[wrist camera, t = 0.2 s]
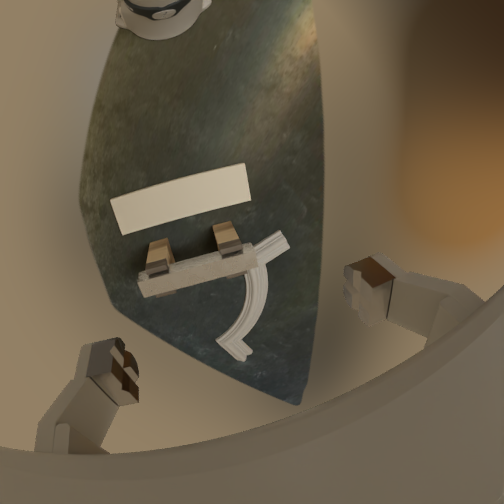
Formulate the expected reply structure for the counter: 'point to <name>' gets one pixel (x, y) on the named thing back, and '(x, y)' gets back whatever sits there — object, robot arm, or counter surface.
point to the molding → (253, 296)
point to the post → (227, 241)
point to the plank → (181, 198)
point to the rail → (197, 270)
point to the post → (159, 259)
